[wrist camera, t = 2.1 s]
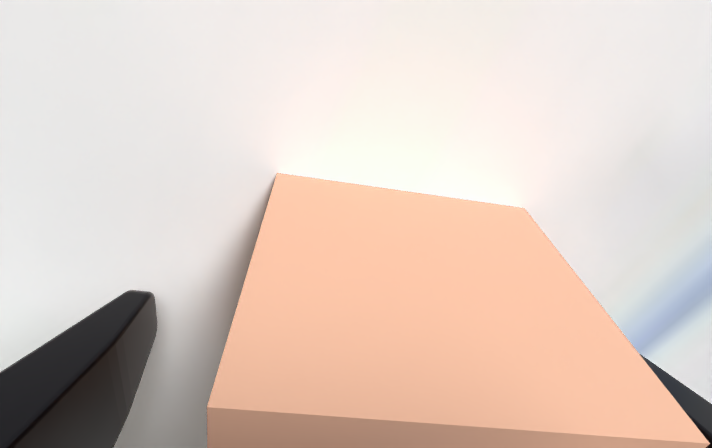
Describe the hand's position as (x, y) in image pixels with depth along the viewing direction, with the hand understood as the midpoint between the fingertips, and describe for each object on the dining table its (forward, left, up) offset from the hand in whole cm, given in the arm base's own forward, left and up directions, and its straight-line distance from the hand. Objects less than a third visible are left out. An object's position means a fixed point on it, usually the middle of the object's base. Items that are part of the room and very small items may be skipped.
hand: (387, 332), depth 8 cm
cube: (0, 0, -1) cm, 1 cm away
